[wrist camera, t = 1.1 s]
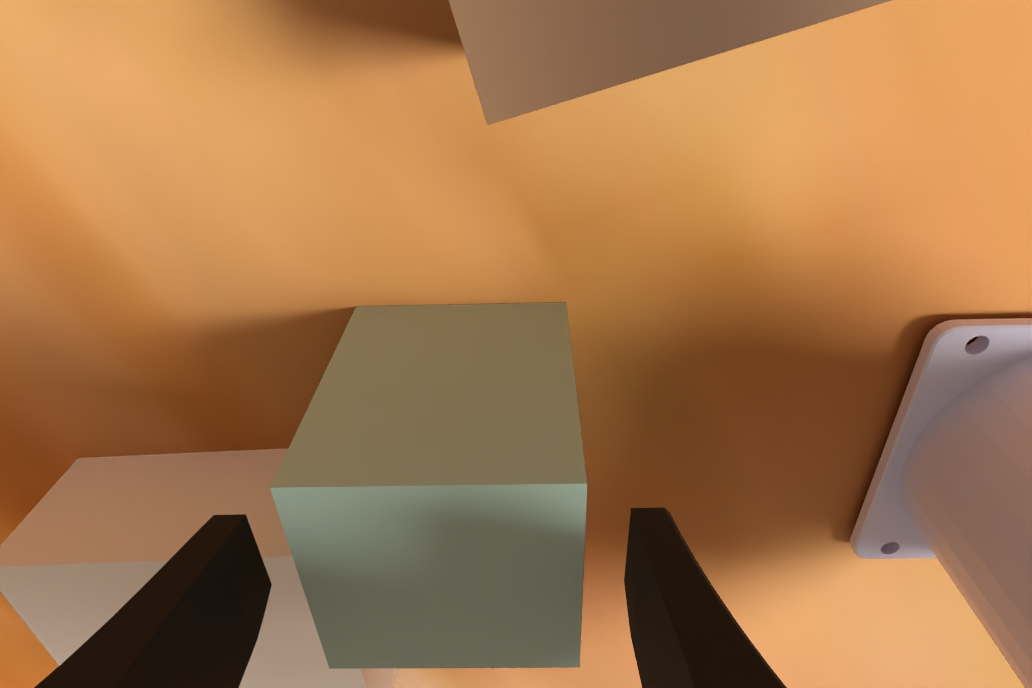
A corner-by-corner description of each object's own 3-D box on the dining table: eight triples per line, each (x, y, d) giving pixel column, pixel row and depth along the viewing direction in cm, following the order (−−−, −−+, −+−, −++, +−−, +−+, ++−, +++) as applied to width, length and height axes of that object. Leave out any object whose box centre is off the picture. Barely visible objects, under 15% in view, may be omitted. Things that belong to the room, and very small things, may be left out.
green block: (566, 300, 15) (587, 483, 10) (563, 459, 17) (579, 667, 12) (356, 305, 15) (269, 487, 10) (385, 461, 18) (329, 668, 13)
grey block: (360, 438, 17) (320, 555, 14) (406, 615, 22) (384, 738, 18) (84, 450, 18) (-20, 567, 14) (183, 622, 22) (120, 743, 19)
